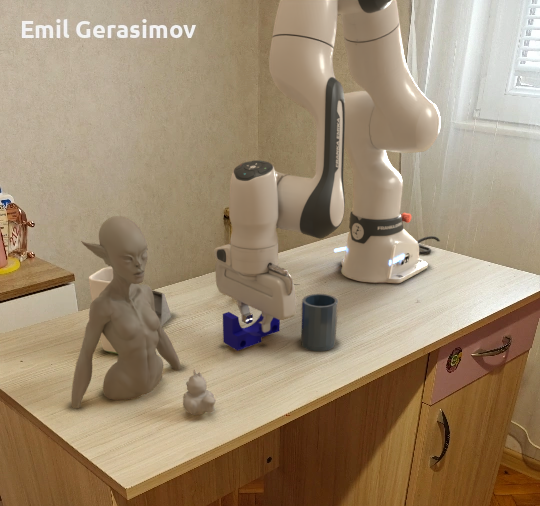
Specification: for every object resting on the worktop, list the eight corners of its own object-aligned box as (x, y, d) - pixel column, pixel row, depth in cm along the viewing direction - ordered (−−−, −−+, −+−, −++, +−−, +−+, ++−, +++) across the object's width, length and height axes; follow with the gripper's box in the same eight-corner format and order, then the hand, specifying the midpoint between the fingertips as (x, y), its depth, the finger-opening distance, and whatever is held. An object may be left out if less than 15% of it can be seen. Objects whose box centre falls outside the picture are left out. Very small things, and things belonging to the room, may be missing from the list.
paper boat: (188, 312, 152) (160, 315, 145) (173, 334, 156) (144, 337, 148) (155, 271, 154) (125, 272, 147) (141, 293, 158) (111, 295, 151)
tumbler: (318, 333, 147) (320, 291, 142) (342, 344, 143) (345, 301, 137) (293, 342, 143) (294, 299, 138) (317, 354, 139) (319, 310, 134)
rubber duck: (198, 400, 124) (195, 358, 119) (226, 413, 120) (224, 370, 116) (175, 413, 120) (171, 369, 116) (203, 426, 117) (200, 382, 112)
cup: (129, 359, 137) (120, 283, 128) (95, 353, 139) (84, 278, 130) (147, 344, 142) (139, 270, 134) (115, 339, 144) (105, 265, 136)
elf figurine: (97, 425, 117) (68, 239, 100) (67, 403, 123) (34, 224, 105) (205, 381, 130) (196, 209, 112) (173, 363, 135) (160, 197, 118)
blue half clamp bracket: (237, 350, 138) (237, 321, 135) (223, 342, 141) (222, 313, 137) (284, 333, 145) (285, 305, 141) (269, 326, 147) (270, 298, 144)
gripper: (305, 267, 129) (303, 338, 137) (234, 240, 142) (236, 307, 150) (278, 276, 126) (278, 348, 134) (208, 247, 138) (212, 315, 147)
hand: (255, 326), depth 142 cm, fingers closed on blue half clamp bracket, 4 cm apart
